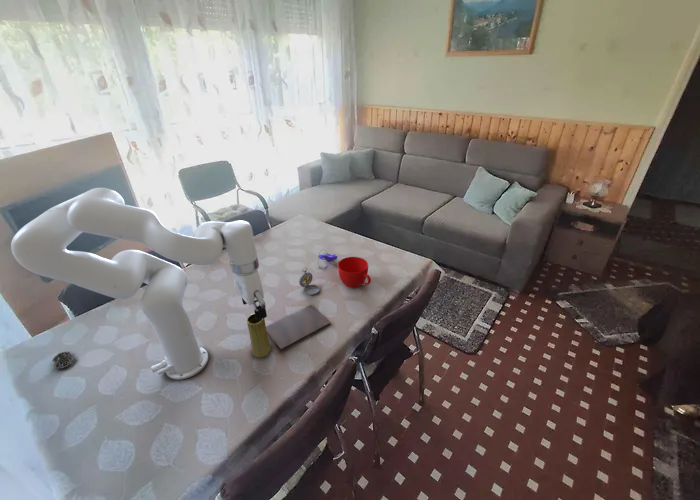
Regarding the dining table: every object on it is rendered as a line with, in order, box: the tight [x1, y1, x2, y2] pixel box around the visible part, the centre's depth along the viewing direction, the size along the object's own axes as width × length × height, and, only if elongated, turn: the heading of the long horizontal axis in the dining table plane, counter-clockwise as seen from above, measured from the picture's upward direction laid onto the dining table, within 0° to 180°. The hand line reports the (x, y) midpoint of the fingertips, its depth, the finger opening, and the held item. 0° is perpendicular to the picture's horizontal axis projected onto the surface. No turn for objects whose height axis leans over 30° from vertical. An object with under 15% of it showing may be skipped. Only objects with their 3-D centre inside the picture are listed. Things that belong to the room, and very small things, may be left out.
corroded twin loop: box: [51, 351, 74, 370], centre depth 104 cm, size 5×8×1 cm, turn 49°
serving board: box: [266, 304, 330, 352], centre depth 118 cm, size 20×13×1 cm, turn 129°
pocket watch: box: [298, 267, 320, 296], centre depth 135 cm, size 8×8×10 cm
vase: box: [246, 312, 272, 358], centre depth 105 cm, size 6×6×14 cm
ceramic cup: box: [337, 256, 372, 289], centre depth 137 cm, size 13×17×10 cm
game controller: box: [317, 248, 338, 269], centre depth 154 cm, size 10×8×10 cm
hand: (254, 310), depth 100 cm, fingers open, 9 cm apart
